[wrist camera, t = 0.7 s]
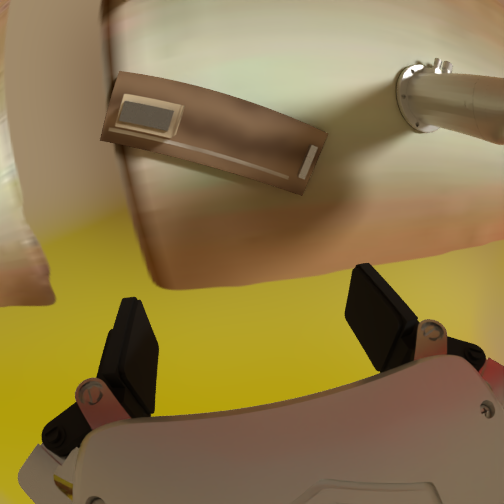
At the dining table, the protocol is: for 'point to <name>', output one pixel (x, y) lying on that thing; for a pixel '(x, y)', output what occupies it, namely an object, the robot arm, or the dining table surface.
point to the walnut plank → (222, 132)
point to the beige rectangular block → (149, 115)
